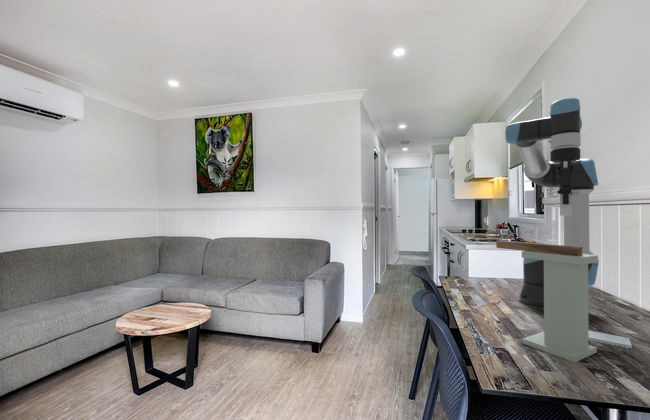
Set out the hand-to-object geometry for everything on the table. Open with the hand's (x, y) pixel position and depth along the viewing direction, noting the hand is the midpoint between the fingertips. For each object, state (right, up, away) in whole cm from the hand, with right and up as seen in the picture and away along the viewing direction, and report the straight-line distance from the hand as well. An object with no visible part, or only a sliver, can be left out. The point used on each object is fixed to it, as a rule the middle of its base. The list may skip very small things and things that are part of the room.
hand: (565, 215), depth 97 cm
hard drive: (+15, -42, +3) cm, 44 cm away
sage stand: (-5, -41, -3) cm, 41 cm away
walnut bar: (-8, -12, +2) cm, 14 cm away
